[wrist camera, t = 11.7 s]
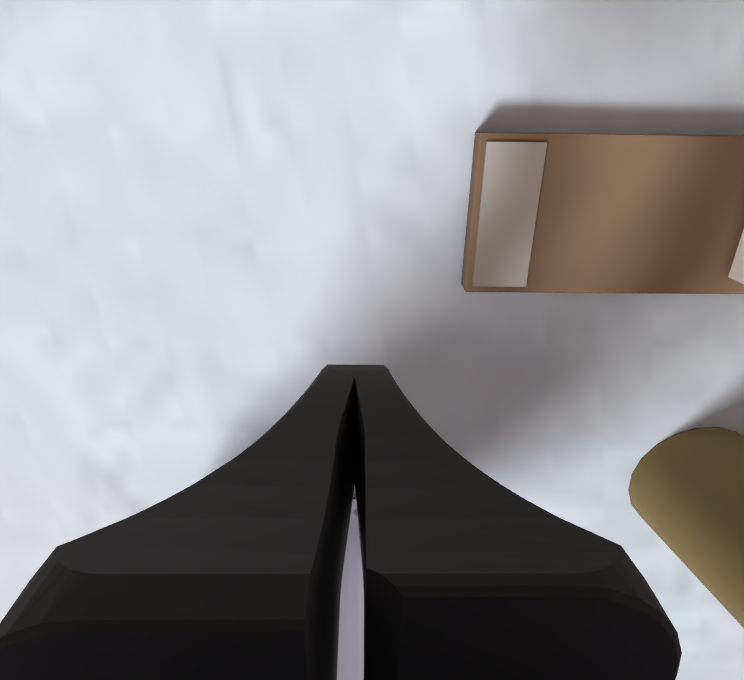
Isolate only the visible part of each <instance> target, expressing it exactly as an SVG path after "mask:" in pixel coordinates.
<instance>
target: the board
mask: <svg viewBox="0 0 744 680" xmlns="http://www.w3.org/2000/svg"><path fill="white" fill-rule="evenodd" d="M743 229H744V136H712V135H637V134H563V133H488V132H475V140H474V151H473V161H472V172H471V183H470V194H469V205H468V216H467V227H466V238H465V249H464V260H463V271H462V282H461V284H462V286H463V287H464V289H465V291H466V292H555V293H679V294H744V284H742V283H740V282H738V281H735V280H733V279H731V278H729V277H728V276H729V272H730V269H731V266H732V263H733V260H734V257H735V254H736V251H737V248H738V245H739V242H740V238H741V235H742V232H743Z"/></svg>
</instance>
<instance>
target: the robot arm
mask: <svg viewBox="0 0 744 680" xmlns="http://www.w3.org/2000/svg"><path fill="white" fill-rule="evenodd" d="M354 485H355V491H356V499H353V493H354ZM356 509H357V510H356ZM681 654H682V652H681V648H680V643H679V638H678V634H677V631H676V630H675V628H674V626H673V625H672V623H671V621H670V620H669V618H668V616H667V615H666V613H665V611H664V610H663V608H662V606H661V605H660V603H659V601H658V599H657V598H656V596H655V594H654V593H653V591H652V590H651V588H650V586H649V585H648V583H647V582H646V580H645V578H644V577H643V576H642V574H641V573H640V572H639V570H638V569H637V567H636V566H635V565H634V563H633V562H632V561H631V559H630V558H629V556H628V555H627V554H626V552H625V551H624V549H623V548H622V546H620V545H618V544H616V543H614V542H612V541H609V540H607V539H605V538H603V537H600V536H598V535H596V534H594V533H592V532H589V531H587V530H585V529H583V528H581V527H578V526H576V525H574V524H572V523H570V522H567V521H565V520H563V519H561V518H559V517H557V516H555V515H553V514H551V513H549V512H547V511H545V510H544V509H542V508H540V507H538V506H536V505H535V504H533V503H531V502H529V501H527V500H525V499H524V498H522V497H520V496H519V495H517V494H515V493H514V492H512V491H510V490H509V489H507V488H505V487H504V486H502V485H501V484H499V483H498V482H496V481H495V480H493V479H492V478H491V477H489V476H488V475H486V474H485V473H483V472H482V471H480V470H479V469H478V468H476V467H475V466H474V465H472V464H471V463H470V462H468V461H467V460H466V459H464V458H463V457H462V456H461V455H460V454H459V453H457V452H456V451H455V450H454V449H453V448H451V447H450V446H449V445H448V444H447V443H446V442H445V441H444V440H443V439H442V438H441V437H440V436H439V435H438V434H437V433H436V432H435V431H434V430H433V429H432V428H431V427H430V426H429V425H428V424H427V423H426V421H425V420H424V419H423V418H422V417H421V416H420V415H419V413H418V412H417V411H416V410H415V408H414V407H413V406H412V404H411V403H410V402H409V401H408V399H407V398H406V397H405V395H404V394H403V393H402V391H401V390H400V388H399V387H398V385H397V384H396V382H395V380H394V379H393V377H392V375H391V374H390V372H389V370H388V369H387V368H386V367H385V366H384V365H327V366H325V367H324V368H323V369H322V370H321V372H320V373H319V375H318V376H317V377H316V379H315V380H314V381H313V383H312V384H311V385H310V387H309V388H308V389H307V390H306V391H305V393H304V394H303V395H302V396H301V397H300V398H299V400H298V401H297V402H296V403H295V404H294V405H293V406H292V407H291V409H290V410H289V411H288V412H287V413H286V414H285V415H284V416H283V417H282V418H281V419H280V420H279V421H278V422H277V423H276V424H275V425H274V426H273V427H272V428H271V429H269V430H268V431H267V432H266V433H265V434H264V435H263V436H262V437H261V438H260V439H258V440H257V441H256V442H255V443H254V444H252V445H251V446H250V447H249V448H247V449H246V450H245V451H243V452H242V453H241V454H239V455H238V456H237V457H235V458H234V459H232V460H231V461H229V462H228V463H226V464H225V465H223V466H222V467H220V468H218V469H217V470H215V471H214V472H212V473H211V474H209V475H207V476H206V477H204V478H203V479H201V480H200V481H198V482H196V483H195V484H193V485H191V486H190V487H188V488H186V489H184V490H182V491H180V492H179V493H177V494H175V495H173V496H171V497H169V498H167V499H165V500H163V501H161V502H159V503H157V504H155V505H153V506H151V507H149V508H147V509H145V510H143V511H141V512H139V513H137V514H135V515H133V516H130V517H128V518H126V519H124V520H121V521H119V522H116V523H114V524H112V525H109V526H107V527H104V528H102V529H100V530H97V531H95V532H92V533H90V534H88V535H85V536H83V537H80V538H78V539H76V540H73V541H70V542H68V543H65V544H63V545H60V546H57V547H56V548H55V550H54V551H53V552H52V553H51V555H50V556H49V557H48V558H47V560H46V561H45V562H44V563H43V565H42V566H41V567H40V568H39V570H38V571H37V572H36V573H35V575H34V576H33V577H32V579H31V580H30V581H29V583H28V584H27V586H26V587H25V588H24V590H23V591H22V593H21V594H20V596H19V597H18V598H17V600H16V601H15V603H14V604H13V606H12V607H11V609H10V610H9V611H8V613H7V614H6V616H5V617H4V619H3V620H2V621H1V623H0V680H675V678H676V676H677V673H678V668H679V663H680V659H681Z"/></svg>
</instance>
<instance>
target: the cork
mask: <svg viewBox="0 0 744 680" xmlns="http://www.w3.org/2000/svg"><path fill="white" fill-rule="evenodd" d="M628 490H629V495H630V500H631V504H632V506H633V507H634V508H635V510H636V511H637V512H638V514H639V515H640V516H641V517H642V518H643V519H644V521H645V522H646V523H647V524H648V525H649V526H650V527H651V528H652V529H653V530H654V531H655V532H656V534H657V535H658V536H659V537H660V538H661V539H662V540H663V541H664V542H665V543H666V544H667V545H668V547H669V548H670V549H671V550H672V551H673V552H674V553H675V554H676V555H677V556H678V557H679V558H680V560H681V561H682V562H683V563H684V564H685V565H686V566H687V567H688V568H689V569H690V570H691V571H692V573H693V574H694V575H695V576H696V577H697V578H698V579H699V580H700V581H701V582H702V583H703V584H704V586H705V587H706V588H707V589H708V590H709V591H710V592H711V593H712V594H713V595H714V596H715V597H716V599H717V600H718V601H719V602H720V603H721V604H722V605H723V606H724V607H725V608H726V609H727V610H728V612H729V613H730V614H731V615H732V616H733V617H734V618H735V619H736V620H737V621H738V622H739V623H740V625H741V626H742V627H743V628H744V437H743V436H741V435H740V434H738V433H737V432H734V431H731V430H727V429H723V428H719V427H714V428H696V429H692V430H689V431H685V432H682V433H678V434H675V435H674V436H672V437H670V438H668V439H666V440H665V441H663V442H661V443H659V444H657V445H656V446H655V447H654V448H653V449H652V450H651V451H650V452H648V453H647V454H646V455H645V456H644V457H643V458H642V459H641V461H640V462H639V464H638V465H637V467H636V469H635V470H634V472H633V473H632V476H631V481H630V485H629V489H628Z"/></svg>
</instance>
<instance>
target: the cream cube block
mask: <svg viewBox="0 0 744 680" xmlns="http://www.w3.org/2000/svg"><path fill="white" fill-rule="evenodd" d="M728 277H729V278H731V279H733V280H735V281H738V282H740V283H742V284H744V229H743V232H742V235H741V238H740V242H739V245H738V248H737V251H736V254H735V257H734V260H733V263H732V266H731V269H730V272H729V276H728Z"/></svg>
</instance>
